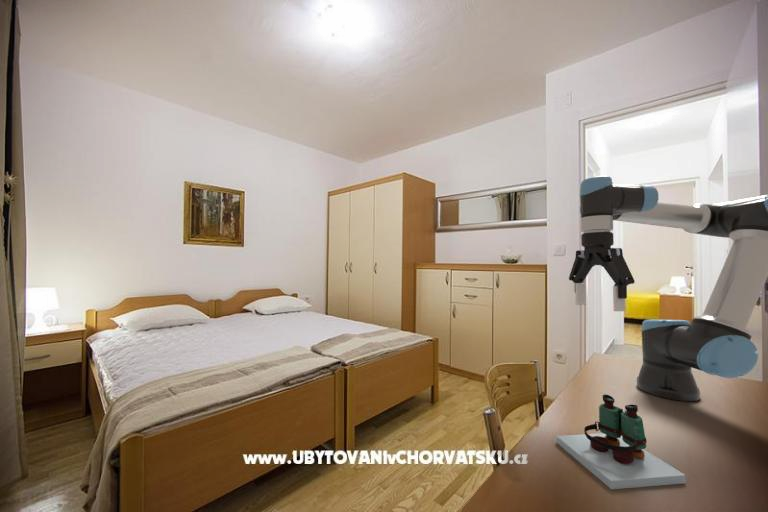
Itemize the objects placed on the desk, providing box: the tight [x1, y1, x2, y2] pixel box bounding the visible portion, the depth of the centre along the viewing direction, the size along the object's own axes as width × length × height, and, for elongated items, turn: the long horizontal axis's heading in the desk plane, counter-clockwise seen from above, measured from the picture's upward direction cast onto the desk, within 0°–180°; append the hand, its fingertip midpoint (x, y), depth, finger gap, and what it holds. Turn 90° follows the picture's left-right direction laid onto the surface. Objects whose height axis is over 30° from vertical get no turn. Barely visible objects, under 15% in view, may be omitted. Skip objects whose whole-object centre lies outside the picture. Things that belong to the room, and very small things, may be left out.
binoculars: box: [583, 394, 647, 464], centre depth 65 cm, size 9×11×10 cm
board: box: [556, 432, 686, 490], centre depth 65 cm, size 15×15×2 cm
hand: (598, 307), depth 88 cm, fingers open, 13 cm apart
